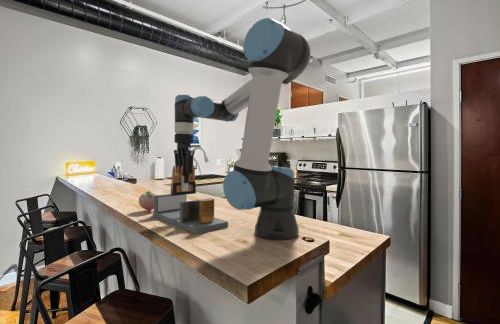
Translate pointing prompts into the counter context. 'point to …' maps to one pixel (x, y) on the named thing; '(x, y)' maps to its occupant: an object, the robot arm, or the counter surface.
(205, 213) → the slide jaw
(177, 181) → the ammunition clip
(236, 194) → the robot arm
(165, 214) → the vise base
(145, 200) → the decorative fruit
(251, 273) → the counter surface
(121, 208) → the counter surface
